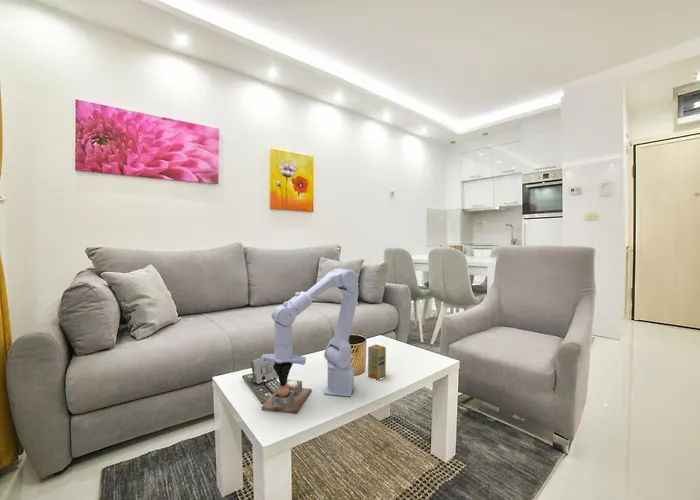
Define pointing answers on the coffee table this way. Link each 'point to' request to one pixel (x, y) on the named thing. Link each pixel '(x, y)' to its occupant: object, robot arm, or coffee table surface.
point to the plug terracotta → (283, 390)
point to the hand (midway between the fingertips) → (283, 384)
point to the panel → (288, 400)
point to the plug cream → (292, 383)
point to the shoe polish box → (376, 362)
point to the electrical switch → (263, 370)
